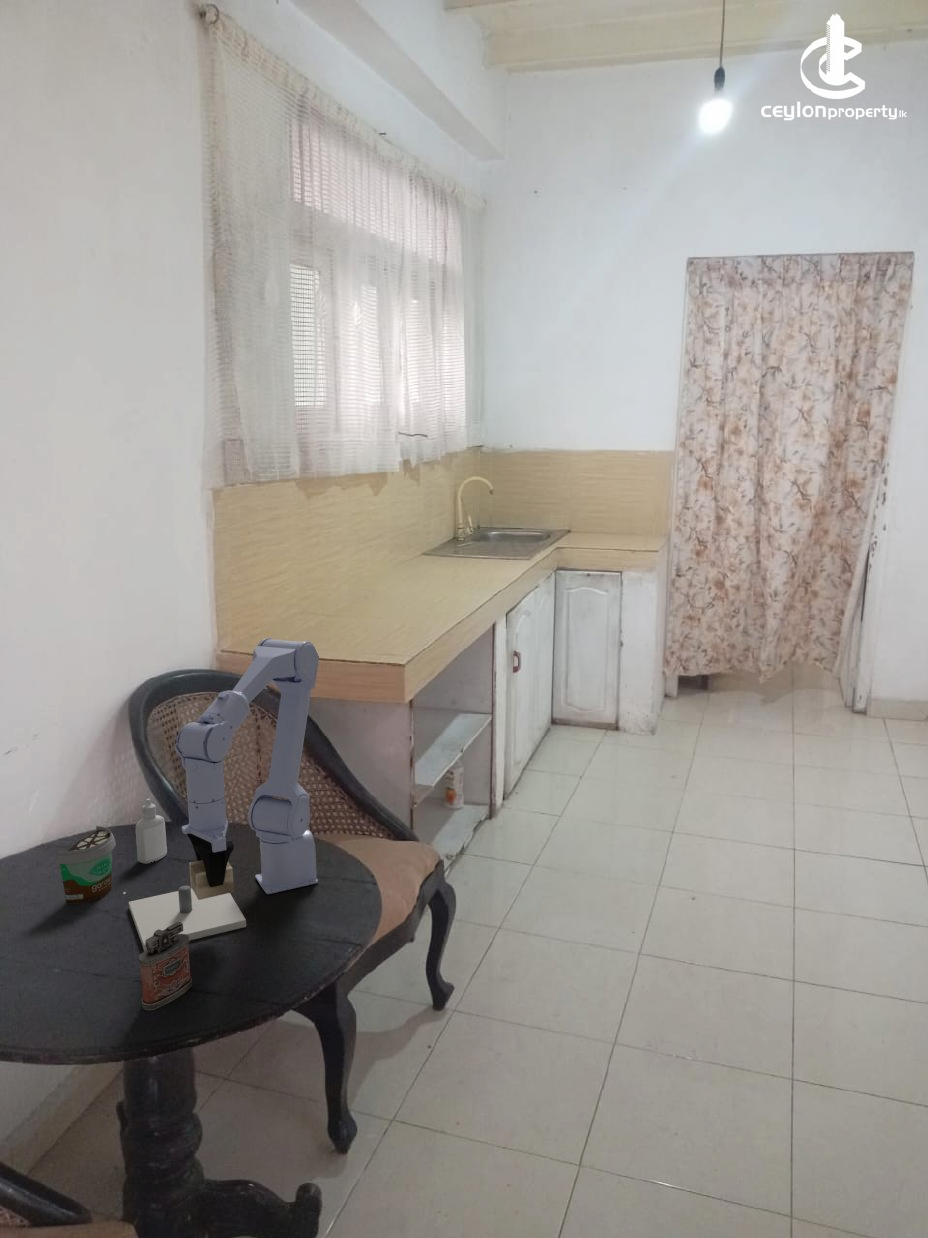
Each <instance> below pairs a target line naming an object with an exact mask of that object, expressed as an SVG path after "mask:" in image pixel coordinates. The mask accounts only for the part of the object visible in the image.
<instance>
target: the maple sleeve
mask: <svg viewBox="0 0 928 1238" xmlns="http://www.w3.org/2000/svg"><path fill="white" fill-rule="evenodd" d="M188 866H189V867H188V868H189V878H190V879H189V881H190V887H191V888H192V889H193V891H194V893H195V895H196V896H197V898H198V900H201V899H205V898H210V897H214V896H218V895H223V894H227V893H230V894H231V893H235V884H234V870H233V869H234V868H233V866H231V864H230V862H229V861H228V863H227V867H226V873H225V879H224V883H223V885H220V886H215V887H210V886H209V884H208V881H207V877H206V872H205V868H204V864H203V861H202V860H200V861H197V860H195V861H192V862H189V864H188Z"/></svg>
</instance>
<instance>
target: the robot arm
mask: <svg viewBox="0 0 928 1238" xmlns="http://www.w3.org/2000/svg"><path fill="white" fill-rule="evenodd" d="M319 660H320V656H319V653H318V652H317V649H316V647H315V645H314V644H313V643H312V642H311V641H304V640H303V641H295V640H285V639H284V640H283V639H282V640H281V639H272V638H268V637H266V638H265V637H264V638H263V639H261V640H260V641H259V643H258V644H257V646H256V647H255V648H254V649H253V651H252V662H251V664H250V665H249V667H248V668H247V670H246V671H245V673H243V675H242V676H241V677H240V679H239V680H238V682H237V683H236V685H235V686H234V688H233V689H232V690H224V691H220V692H219V693H218V695H216V697H215V699H214V700H213V701H212V703H211V704H210V705H209V706H208V707H207V709H206V710H205V711H204V712H203V713H202V714H201V715H200V716H199V718H197V720H196V722H195V721H191V722H188V723H186V725H184V726H183V727H181V729H180V730H179V732H178V734H177V736H176V743H175V744H174V748H175V751H176V754H177V756H179V758H180V760H181V767H182V768H183V770H185V776H186V777H185V779H186V780H185V781H186V795H187V808H188V809H187V812H188V824H186V825H182V826H181V832H182V833H183V834H184V835H186V836H187V837H188V839H189V841H190V843H191V845H192V848H193V850H194V854H195V859H196V861H200V860H202V861H203V864H204V868H205V872H206V877H207V881H208V884H209V886H210V887H215V886H220V885H223V883H224V879H225V873H226V867H227V863H228V862H229V859H230V857H231V855H232V852H233V851H234V848H235V843H234V842H233V841H232V840H230V841H227V838H226V835H227V831H228V827H229V821H228V819H227V808H226V807H227V806H226V792H225V791H226V789H225V788H226V787H225V776H224V775H225V774H224V773H225V772H224V758H225V757H227V755H228V753H229V751H230V746H231V742H232V740H233V737H234V733H235V732H236V731H237V729H238V728H239V727H240V726H241V725H242V723H243V722H244V721H245V720H246V719H247V717H248V716H250V715H249V714H251V713H250V712H251V708H250V703H251V702H252V701H253V700H254V699H255V698H256V697H257V696H258V695H259V694H260V693H261V692H262V691H263V690H264V689H265V688H266V687H267V686H268V685H269V684H270V683H271V684H273V685H275V686H276V688H277V689H278V690H279V692H280V699H279V700H280V701H279V707H278V713H277V721H276V727H275V733H274V738H273V739H274V740H273V747H272V751H271V752H272V753H271V759H270V767H269V773H268V774H269V775H268V778H267V779H268V780H266V781H265V782H264V783H262V784H261V785H260V786H258V787H257V788H256V789H254V791H255V792H254V797H253V800H252V803H251V804H250V805H249V806H250V807H249V809H248V812H247V819H248V824H249V827H250V828H251V829H252V830H253V831H255V837H257V838H259V848H260V849H259V850H260V865H261V866H260V867H261V868H260V869H261V871H260V872H261V873H259V874H255V876H254V877H255V880H256V881H257V882H258V883H259V886H261V889H262V890H263V891H264V892H265V894H266V895H272V894H276V893H279V892H284V891H289V890H292V889H297V888H301V887H306V886H309V885H310V886H311V885H315V884H317V883H318V882H319V879H318V878H317V877H318V875H317V858H316V857H317V856H316V855H317V854H316V852H317V851H316V844H315V839H314V836H313V833H312V831H311V830H310V829H308V828H309V825H310V822H311V812H310V811H311V810H310V795H309V793H308V792H307V791H306V790H305V789H304V788H303V787H302V786H301V785H300V784H299V776H300V770H301V769H300V768H301V763H302V755H303V749H304V744H305V743H304V742H305V734H306V729H307V721H308V714H309V709H310V699H311V694H312V690H313V689H314V688H316V682H317V681H316V680H317V674H318V667H319V662H320V661H319ZM276 797H277V798H276ZM282 798H283V799H282Z"/></svg>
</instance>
